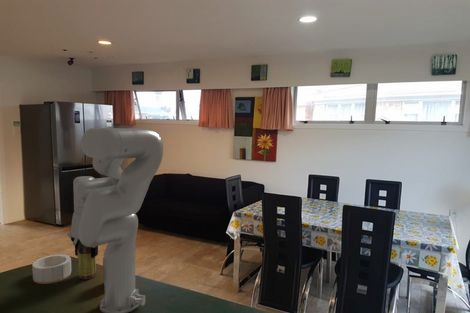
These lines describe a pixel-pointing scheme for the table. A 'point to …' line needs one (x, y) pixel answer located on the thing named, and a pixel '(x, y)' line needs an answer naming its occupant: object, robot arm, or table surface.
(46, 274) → the bottle holder
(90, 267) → the sauce bottle
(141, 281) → the table surface
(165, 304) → the table surface
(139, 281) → the table surface
